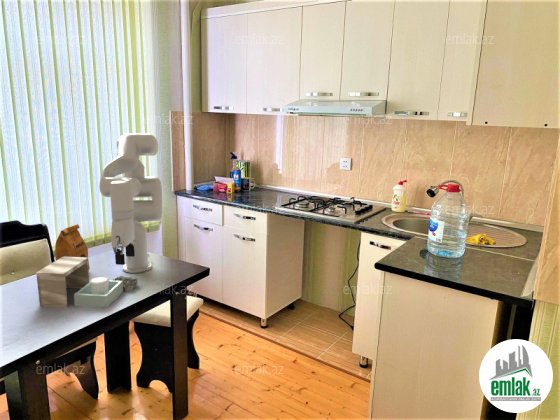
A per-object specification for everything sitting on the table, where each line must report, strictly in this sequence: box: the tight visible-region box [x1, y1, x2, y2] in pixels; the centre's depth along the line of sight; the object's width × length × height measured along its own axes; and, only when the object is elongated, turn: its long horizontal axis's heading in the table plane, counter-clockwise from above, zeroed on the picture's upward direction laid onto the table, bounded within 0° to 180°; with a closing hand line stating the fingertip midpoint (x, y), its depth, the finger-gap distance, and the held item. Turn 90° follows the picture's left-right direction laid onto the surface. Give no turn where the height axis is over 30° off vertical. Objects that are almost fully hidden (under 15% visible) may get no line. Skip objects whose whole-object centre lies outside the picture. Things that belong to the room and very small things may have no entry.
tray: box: [73, 279, 124, 308], centre depth 156 cm, size 14×12×4 cm
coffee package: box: [54, 223, 90, 270], centre depth 175 cm, size 10×12×22 cm
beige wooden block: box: [35, 257, 91, 308], centre depth 156 cm, size 17×10×13 cm, turn 177°
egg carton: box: [112, 275, 139, 293], centre depth 167 cm, size 11×8×4 cm
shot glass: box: [89, 275, 110, 295], centre depth 156 cm, size 7×7×7 cm
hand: (125, 260), depth 152 cm, fingers open, 8 cm apart
